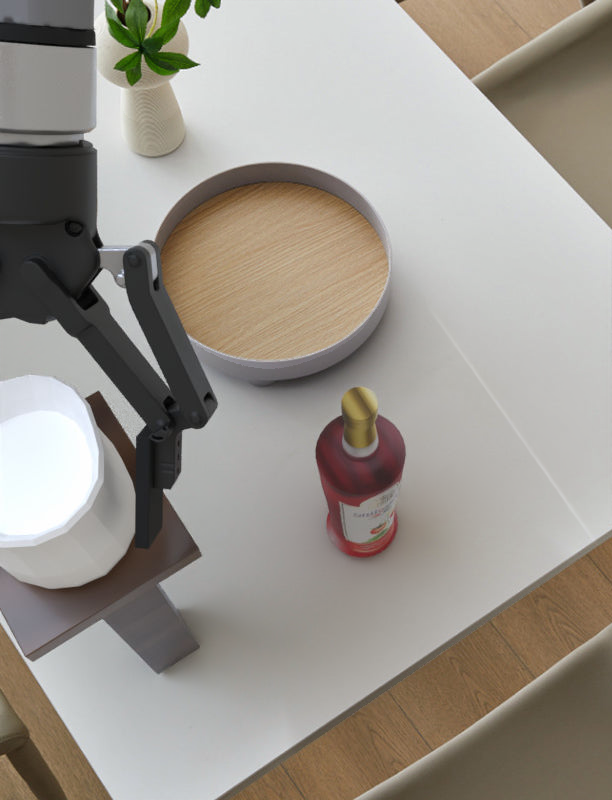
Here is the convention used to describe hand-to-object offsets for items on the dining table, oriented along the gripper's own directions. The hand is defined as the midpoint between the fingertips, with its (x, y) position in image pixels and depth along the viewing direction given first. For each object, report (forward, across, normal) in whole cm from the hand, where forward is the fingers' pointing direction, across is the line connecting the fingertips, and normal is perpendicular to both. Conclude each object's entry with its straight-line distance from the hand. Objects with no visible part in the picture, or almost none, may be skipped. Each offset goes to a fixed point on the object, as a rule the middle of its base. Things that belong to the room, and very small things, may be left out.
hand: (28, 524), depth 57 cm
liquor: (+18, -17, -39) cm, 46 cm away
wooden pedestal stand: (+27, 0, -30) cm, 40 cm away
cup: (+2, 0, -5) cm, 6 cm away
